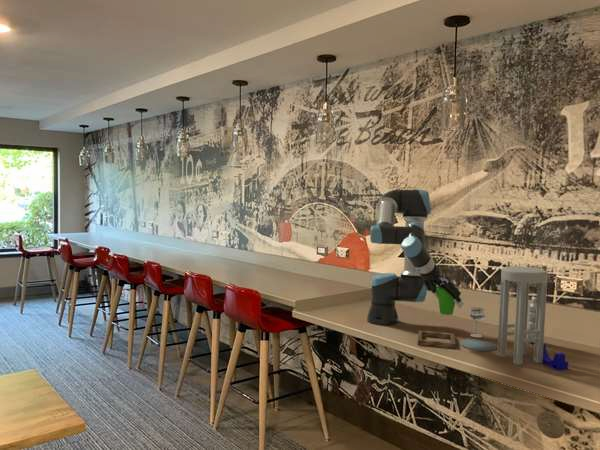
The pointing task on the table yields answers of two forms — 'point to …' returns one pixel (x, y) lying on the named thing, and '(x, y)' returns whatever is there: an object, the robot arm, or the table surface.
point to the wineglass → (476, 317)
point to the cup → (445, 302)
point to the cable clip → (555, 360)
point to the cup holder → (436, 343)
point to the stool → (522, 311)
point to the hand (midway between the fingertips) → (452, 303)
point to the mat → (478, 345)
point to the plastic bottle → (532, 316)
